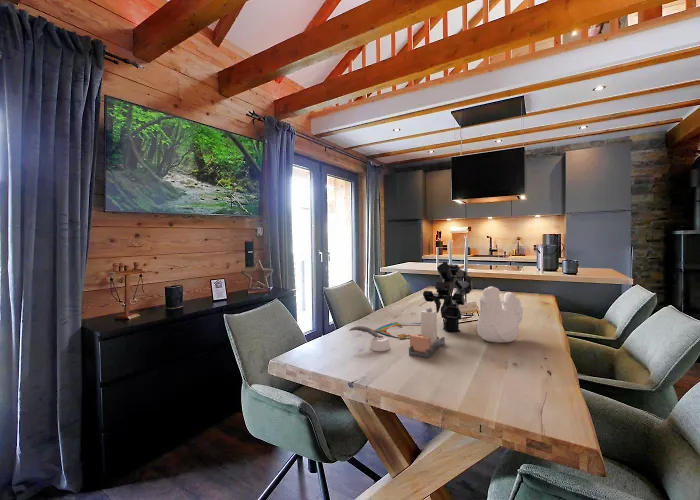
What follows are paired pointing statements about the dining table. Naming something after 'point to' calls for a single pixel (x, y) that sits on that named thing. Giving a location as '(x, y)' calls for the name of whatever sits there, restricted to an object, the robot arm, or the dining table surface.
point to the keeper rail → (433, 349)
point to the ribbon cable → (385, 327)
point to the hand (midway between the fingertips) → (439, 312)
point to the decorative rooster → (499, 316)
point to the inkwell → (375, 339)
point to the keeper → (429, 324)
